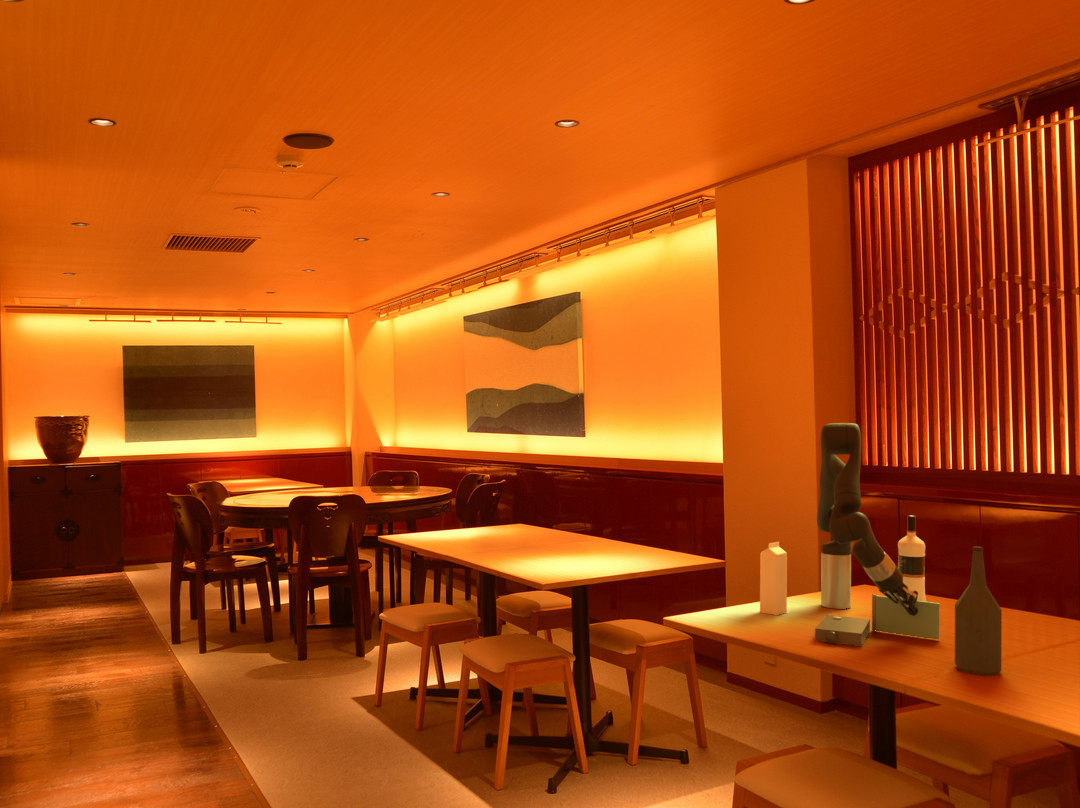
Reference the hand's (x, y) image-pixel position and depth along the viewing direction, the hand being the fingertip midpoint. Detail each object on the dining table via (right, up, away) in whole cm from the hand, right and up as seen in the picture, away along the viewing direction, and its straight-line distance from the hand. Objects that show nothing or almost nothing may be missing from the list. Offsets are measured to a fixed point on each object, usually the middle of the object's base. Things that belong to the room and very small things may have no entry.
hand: (914, 613), depth 249 cm
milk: (-31, -7, +32) cm, 45 cm away
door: (-2, -7, +3) cm, 8 cm away
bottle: (+2, -7, -32) cm, 33 cm away
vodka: (+17, -8, +42) cm, 46 cm away
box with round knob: (-19, -7, +1) cm, 21 cm away
